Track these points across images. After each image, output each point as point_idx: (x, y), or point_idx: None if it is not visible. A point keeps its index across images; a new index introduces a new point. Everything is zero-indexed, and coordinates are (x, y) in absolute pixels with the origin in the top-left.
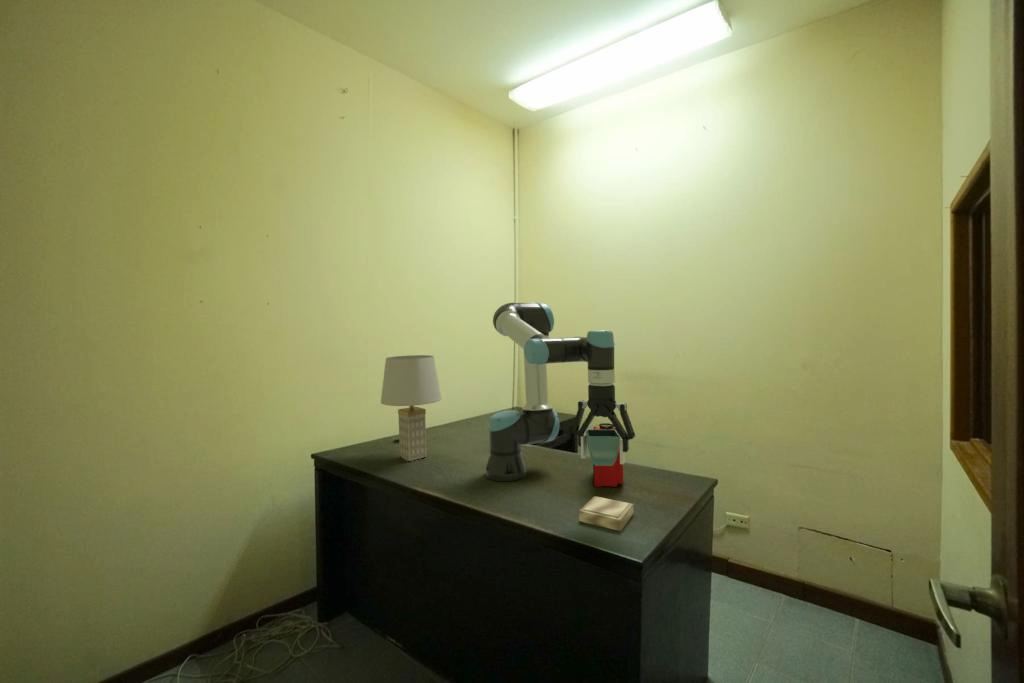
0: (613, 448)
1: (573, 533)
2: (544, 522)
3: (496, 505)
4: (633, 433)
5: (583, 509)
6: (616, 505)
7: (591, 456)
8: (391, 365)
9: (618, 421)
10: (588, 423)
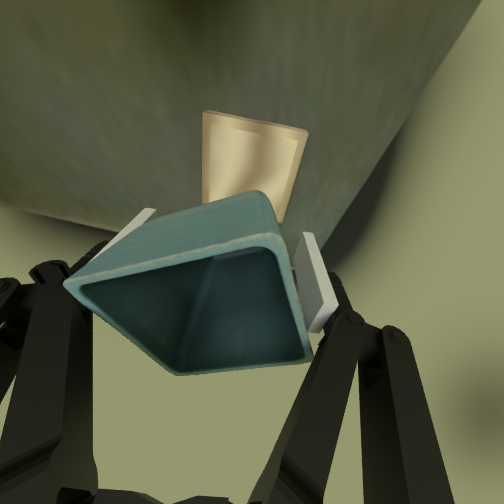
0: (276, 313)
1: None
2: None
3: (35, 189)
4: (402, 356)
5: (207, 202)
6: (268, 165)
7: (202, 294)
8: None
9: (328, 443)
10: (88, 391)
